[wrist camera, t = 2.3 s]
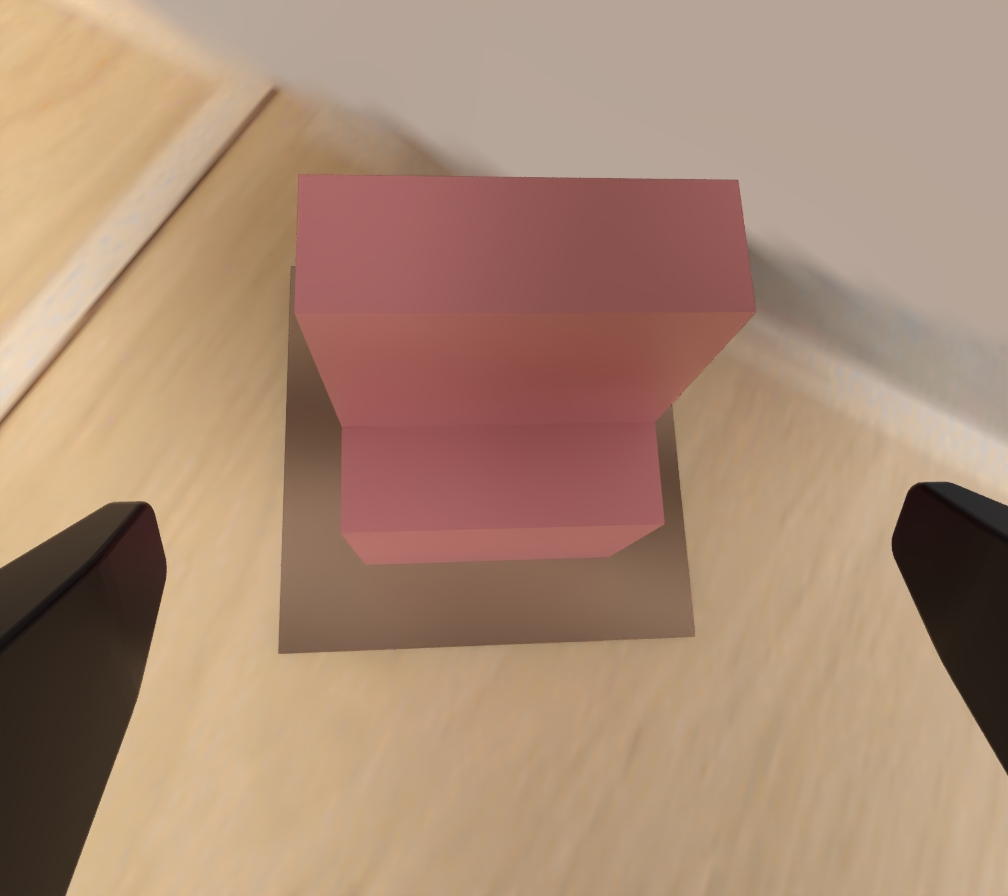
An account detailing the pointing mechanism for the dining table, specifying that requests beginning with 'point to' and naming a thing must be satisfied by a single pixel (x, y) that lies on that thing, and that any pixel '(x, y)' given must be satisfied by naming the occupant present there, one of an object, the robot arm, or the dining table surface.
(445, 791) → the dining table surface
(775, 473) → the dining table surface
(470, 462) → the red stepped block
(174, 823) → the dining table surface
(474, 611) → the stake stand
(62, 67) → the dining table surface
